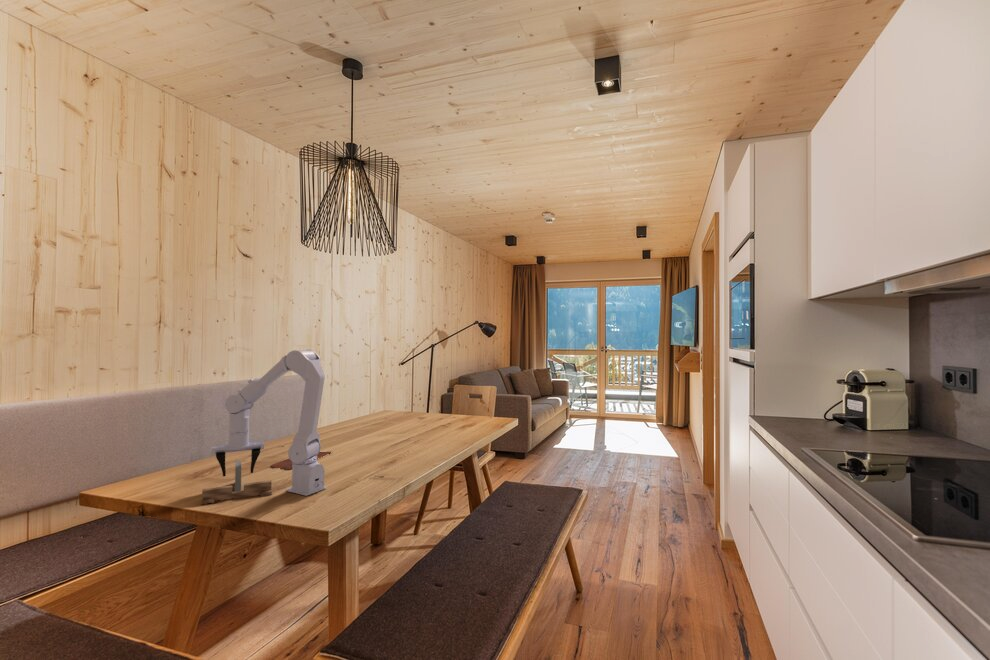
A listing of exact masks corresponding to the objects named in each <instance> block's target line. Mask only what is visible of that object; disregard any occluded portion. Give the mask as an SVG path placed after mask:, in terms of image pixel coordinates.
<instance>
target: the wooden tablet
mask: <svg viewBox="0 0 990 660" xmlns="http://www.w3.org/2000/svg"><path fill="white" fill-rule="evenodd" d="M331 452H332V451H327V452H319V453H318V454H317V459H318V458H320V459H322V458H324V457H323V456H325V455H327V454H329V453H331ZM331 454H332V453H331ZM329 455H330V454H329ZM327 456H328V455H327ZM321 457H322V458H321ZM325 457H326V456H325ZM318 460H319V459H318ZM269 467H270V469H279V468H280V470H282V469H284V470H283V471H292V461H291V460H290V459H289V458H286V459H284V460H281V461H279V462H278V461H277V462H275V463H272V464H271V465H270V466H269Z"/></svg>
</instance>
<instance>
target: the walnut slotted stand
mask: <svg viewBox="0 0 990 660" xmlns="http://www.w3.org/2000/svg"><path fill="white" fill-rule="evenodd" d="M272 483H273V482H272V480H271V479H270V480H264V481H262V480H261V481H256V482H250V483H249V482H248V483H243V490H241V491H236V492H235V491H233V485H225V486H219V487H218V486H217V487H209V488H202V490H201V491H202V492H201V505H202V504H205V505H208V504H207V503H212V504H214V503H215V502H218V501H217V500H220V501H225V500H224V499H227V500H233V499H232V498H234V499H240V498H239V497H241V498H245V497H246V498H247V496H248V497H253V496H260V497H266V496H272V495H273V493H272V485H273V484H272Z"/></svg>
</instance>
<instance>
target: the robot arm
mask: <svg viewBox="0 0 990 660" xmlns="http://www.w3.org/2000/svg"><path fill="white" fill-rule="evenodd" d="M321 359H322V358H321V356H320V355H318V354H317V352H316V351H315V350H312V349H305V350H304V349H303V350H297V349H296V350H291V351H288V353H287V354H286V355H284V356H282V358H280V360H279V361H278V362H277V363H276V364H275V365H273V367H271V368H270V370H268V371H267V372H266V373H265V374H264V375H263V376H261V377H256V378H251V379H249V380H248V384H246V385H245V386H243V388H239V389H238V390H237V393H236V394H235V393H234V394H230V395H228V397H227V398H226V400H225V402H224V407H225V410H226V411H227V412H228V444H224V445H223V444H222V445H219V446H218V445H217V446H212V447H211V455H215V458H216V460H217V462H218V464H219V466H220V468H221V472H222V477H226V475H227V474H226V472H227V471H226V453H232V452H233V453H234V452H243V451H244V452H245V451H246V452H247V451H251V458H250V460H251V461H250V462H251V463H250V474H253V473H254V468H255V465H256V463H257V461H258V458H259V456H260V455H261V450H265V442H264V441H262V442H250V414H251V409H252V408H254V404H255V403H256V402H257V401H258V400H259V399H261V398H262V397H263V396H264V395H265V394H267V393H268V391H270V390H269V388H270V387H269V386H270V385H272V384H273V383H275V382H276V381H277V380H279V379H280V378H281V377H282V376H284V375H285V374H286V373H288V372H291V371H292V372H293V373H295V374H296V375H299V376H300V377H301V378H302V379H303V380H304V382H305V383H304V384H305V385H304V390H303V398H302V404H301V411H300V417H299V424H298V430H297V433H296V434H295V435H294V437H293V439H292V442H291V443H292V444H291V445H290V447H289V448H288V451H287V455H288V459H290V460H291V461H292V469H291V471H292V474H291V476H292V477H291V487H287V488H286V489H285V492H288V493H293V494H297V495H302V496H306V497H307V496H310V495H312V494H315V493H317V492H321V491H323V490H325V489H327V486H325V467H324V466H323V464H321V463H319V462H318V460H317V454H318V453H319V452H320V451H322V449H321V448H322V444H321V441H320V440H321V439H320V438H321V437H320V436H321V435H320V433H319V432H318V424H319V416H320V411H321V404H322V397H323V391H324V384H325V383H324V382H325V373H324V370H323V367H322V365H321V364H322V363H321Z"/></svg>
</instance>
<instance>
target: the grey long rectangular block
mask: <svg viewBox="0 0 990 660" xmlns="http://www.w3.org/2000/svg"><path fill="white" fill-rule="evenodd" d="M234 467H235V472H234V473H235V475H234V477H235V478H234V492H236V491H242V460H236V461H235V466H234Z"/></svg>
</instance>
